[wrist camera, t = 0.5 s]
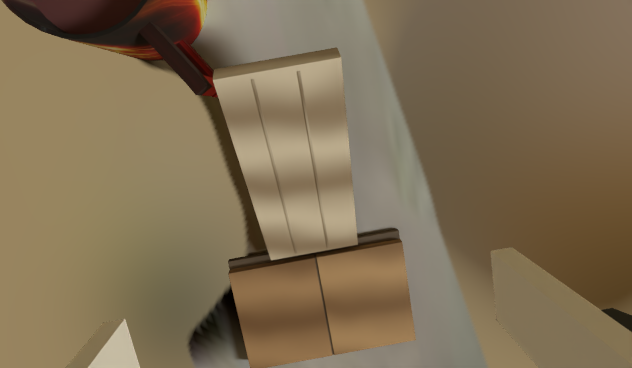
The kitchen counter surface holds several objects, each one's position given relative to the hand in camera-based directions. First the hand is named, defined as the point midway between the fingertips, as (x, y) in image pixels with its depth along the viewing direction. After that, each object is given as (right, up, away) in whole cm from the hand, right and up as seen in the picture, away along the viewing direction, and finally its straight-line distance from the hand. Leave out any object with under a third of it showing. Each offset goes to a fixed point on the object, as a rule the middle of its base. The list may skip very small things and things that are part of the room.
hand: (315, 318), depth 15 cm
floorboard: (+1, -7, +25) cm, 26 cm away
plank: (-1, +6, +18) cm, 19 cm away
